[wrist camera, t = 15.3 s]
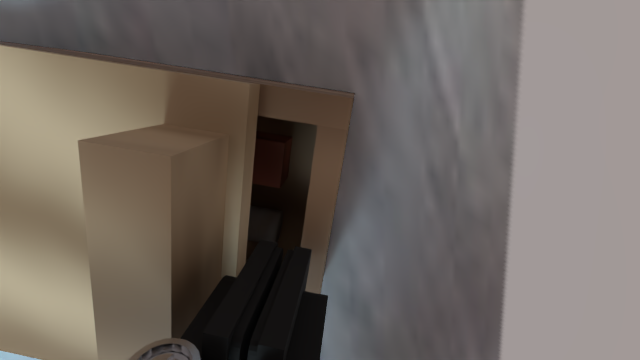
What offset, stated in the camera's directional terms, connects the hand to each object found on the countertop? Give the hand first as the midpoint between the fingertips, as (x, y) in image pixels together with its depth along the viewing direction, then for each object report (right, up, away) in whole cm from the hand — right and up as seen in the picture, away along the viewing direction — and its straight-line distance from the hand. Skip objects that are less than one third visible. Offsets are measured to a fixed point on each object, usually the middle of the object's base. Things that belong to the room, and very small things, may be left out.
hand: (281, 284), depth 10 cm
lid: (-9, +2, +2) cm, 10 cm away
